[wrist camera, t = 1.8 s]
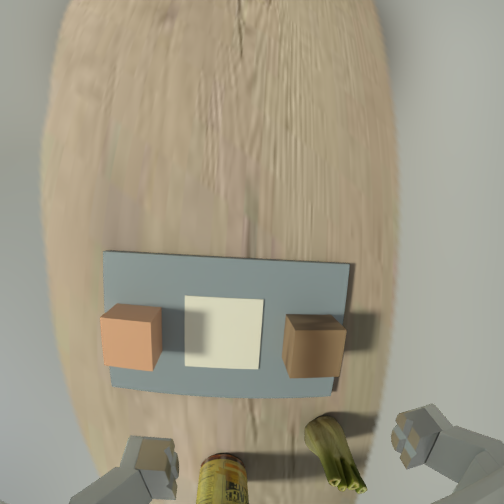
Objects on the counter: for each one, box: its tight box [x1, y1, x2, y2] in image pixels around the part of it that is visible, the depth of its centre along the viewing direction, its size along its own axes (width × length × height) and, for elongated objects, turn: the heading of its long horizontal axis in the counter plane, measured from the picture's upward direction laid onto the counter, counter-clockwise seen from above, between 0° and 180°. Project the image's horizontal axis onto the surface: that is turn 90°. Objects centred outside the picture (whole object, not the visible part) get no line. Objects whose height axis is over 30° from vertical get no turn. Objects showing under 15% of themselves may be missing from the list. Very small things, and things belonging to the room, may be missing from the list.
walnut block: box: [282, 314, 347, 378], centre depth 31 cm, size 5×5×5 cm
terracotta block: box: [100, 303, 162, 371], centre depth 30 cm, size 5×5×5 cm
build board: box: [103, 251, 350, 398], centre depth 33 cm, size 26×16×1 cm, turn 86°
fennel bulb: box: [305, 416, 367, 494], centre depth 30 cm, size 6×5×12 cm
